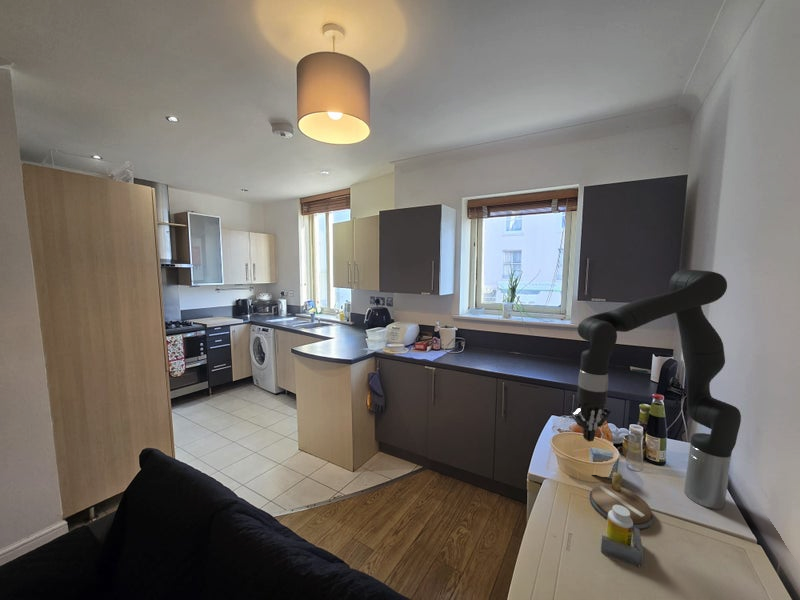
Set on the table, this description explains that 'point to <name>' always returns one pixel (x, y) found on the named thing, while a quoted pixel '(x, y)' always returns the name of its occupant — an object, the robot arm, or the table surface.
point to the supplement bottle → (619, 524)
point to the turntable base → (603, 514)
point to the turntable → (621, 500)
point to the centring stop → (624, 549)
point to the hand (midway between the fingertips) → (588, 439)
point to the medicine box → (603, 458)
